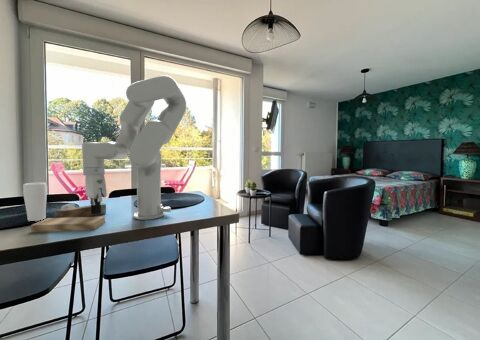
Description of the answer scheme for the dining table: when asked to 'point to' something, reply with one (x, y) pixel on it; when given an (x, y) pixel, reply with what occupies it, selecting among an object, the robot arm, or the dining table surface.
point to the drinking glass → (35, 200)
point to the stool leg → (78, 212)
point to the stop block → (68, 206)
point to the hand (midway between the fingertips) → (96, 213)
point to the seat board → (68, 224)
